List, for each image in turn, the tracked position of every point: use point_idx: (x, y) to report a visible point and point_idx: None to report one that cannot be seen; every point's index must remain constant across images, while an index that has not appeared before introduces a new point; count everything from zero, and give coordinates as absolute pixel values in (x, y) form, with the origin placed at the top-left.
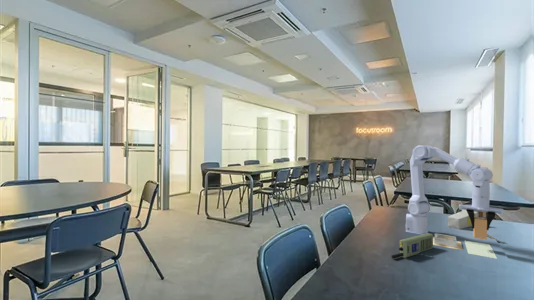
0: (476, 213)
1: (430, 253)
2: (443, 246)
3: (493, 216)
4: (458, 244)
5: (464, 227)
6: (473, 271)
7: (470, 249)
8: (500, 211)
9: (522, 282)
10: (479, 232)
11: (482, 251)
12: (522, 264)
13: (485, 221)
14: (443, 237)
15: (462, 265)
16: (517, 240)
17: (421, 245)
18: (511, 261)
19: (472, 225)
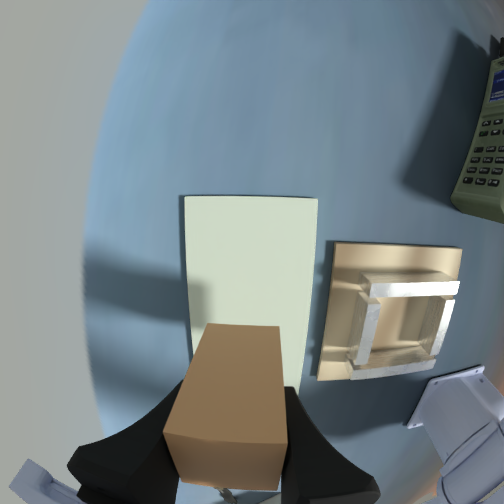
0: None
1: (456, 132)
2: (415, 251)
3: (86, 450)
4: (339, 333)
5: (263, 502)
6: (306, 3)
7: (295, 281)
8: (33, 485)
9: (159, 7)
10: (246, 350)
11: (239, 281)
12: (103, 207)
13: (181, 423)
14: (400, 357)
15: (344, 38)
16: None
17: (498, 119)
18: (133, 222)
19: (297, 399)
